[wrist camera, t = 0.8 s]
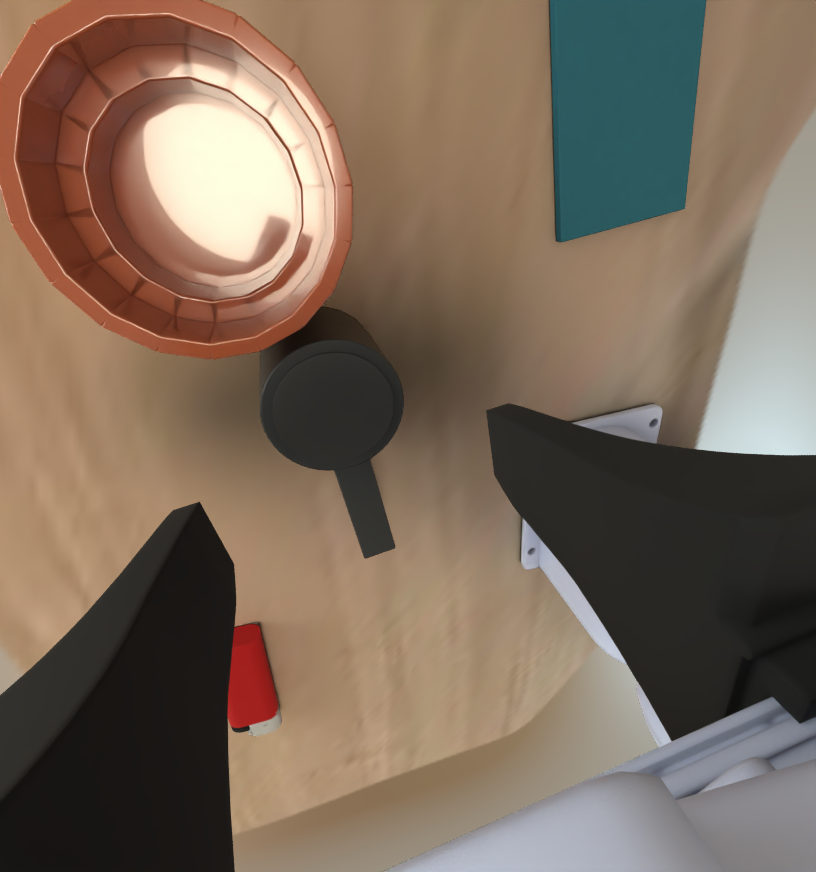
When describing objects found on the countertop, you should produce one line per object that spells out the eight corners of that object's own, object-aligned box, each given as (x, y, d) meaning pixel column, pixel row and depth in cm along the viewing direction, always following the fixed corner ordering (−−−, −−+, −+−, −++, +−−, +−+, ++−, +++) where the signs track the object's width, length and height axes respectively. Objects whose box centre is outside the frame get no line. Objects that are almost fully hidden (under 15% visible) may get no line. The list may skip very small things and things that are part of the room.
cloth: (555, 241, 20) (561, 242, 19) (547, -49, 15) (554, -55, 15) (678, 208, 21) (685, 208, 20) (705, -77, 16) (715, -83, 16)
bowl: (347, 298, 19) (373, 332, 14) (128, 333, 17) (85, 382, 13) (306, 40, 15) (325, -20, 10) (17, 54, 13) (-101, -8, 9)
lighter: (261, 641, 24) (283, 730, 28) (261, 621, 25) (282, 709, 29) (202, 654, 23) (233, 743, 27) (205, 634, 24) (234, 722, 28)
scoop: (241, 324, 18) (236, 364, 14) (361, 292, 19) (388, 321, 15) (316, 515, 23) (328, 584, 19) (408, 484, 24) (438, 545, 20)
